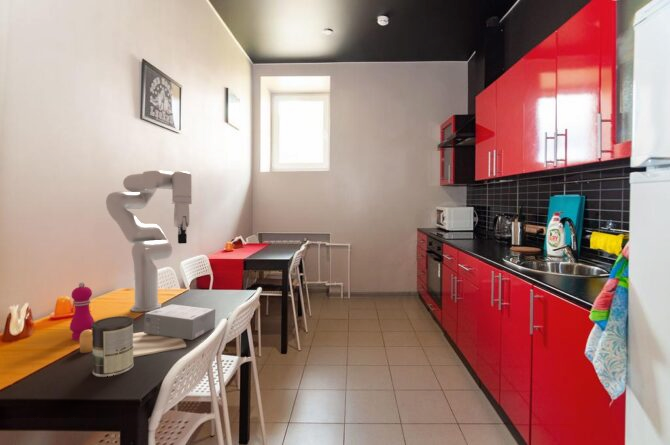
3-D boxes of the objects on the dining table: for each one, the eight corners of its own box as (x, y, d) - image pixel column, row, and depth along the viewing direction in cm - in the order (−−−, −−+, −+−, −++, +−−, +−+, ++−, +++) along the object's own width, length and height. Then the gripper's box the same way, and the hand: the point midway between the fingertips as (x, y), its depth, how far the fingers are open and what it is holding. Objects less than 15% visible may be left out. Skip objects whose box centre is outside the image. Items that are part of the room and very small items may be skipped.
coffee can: (84, 377, 97) (83, 327, 96) (105, 361, 107) (104, 316, 107) (122, 376, 98) (122, 327, 97) (140, 360, 108) (139, 315, 108)
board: (121, 336, 128) (121, 335, 127) (175, 328, 137) (175, 326, 137) (124, 358, 109) (124, 357, 109) (186, 347, 119) (186, 345, 119)
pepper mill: (99, 335, 129) (98, 281, 128) (79, 342, 122) (78, 285, 121) (85, 332, 131) (84, 279, 131) (65, 339, 125) (64, 283, 124)
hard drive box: (142, 334, 128) (191, 340, 124) (143, 313, 128) (192, 319, 123) (171, 322, 143) (215, 327, 139) (172, 303, 143) (216, 308, 139)
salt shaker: (80, 349, 116) (80, 329, 116) (94, 347, 118) (94, 326, 118) (79, 353, 113) (79, 332, 112) (94, 351, 115) (94, 330, 115)
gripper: (169, 200, 154) (170, 242, 155) (175, 200, 142) (175, 245, 142) (188, 201, 158) (188, 241, 159) (195, 200, 146) (195, 244, 146)
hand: (182, 243), depth 151 cm, fingers closed
